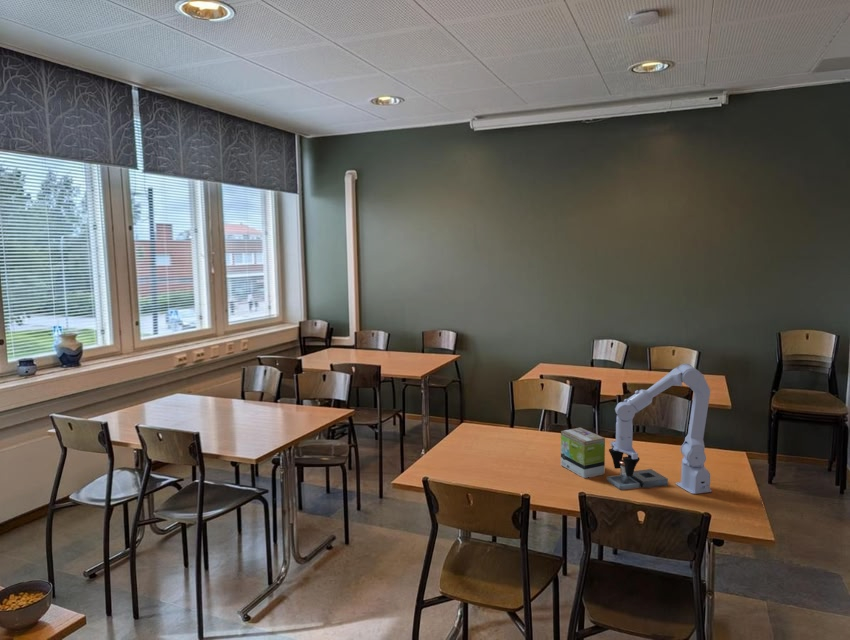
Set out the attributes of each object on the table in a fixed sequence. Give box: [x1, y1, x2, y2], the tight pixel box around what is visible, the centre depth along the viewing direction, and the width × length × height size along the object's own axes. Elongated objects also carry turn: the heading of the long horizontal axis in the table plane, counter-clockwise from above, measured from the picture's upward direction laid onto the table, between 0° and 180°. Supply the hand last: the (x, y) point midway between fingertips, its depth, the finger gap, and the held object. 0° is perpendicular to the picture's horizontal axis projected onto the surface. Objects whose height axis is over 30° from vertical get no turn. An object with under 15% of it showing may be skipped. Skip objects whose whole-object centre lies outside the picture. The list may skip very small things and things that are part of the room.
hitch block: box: [629, 468, 669, 489], centre depth 215 cm, size 10×10×2 cm
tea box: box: [560, 427, 606, 479], centre depth 227 cm, size 15×10×15 cm
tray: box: [606, 474, 641, 491], centre depth 213 cm, size 9×8×2 cm
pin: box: [619, 459, 629, 484], centre depth 213 cm, size 4×4×8 cm
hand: (623, 471), depth 213 cm, fingers open, 7 cm apart
